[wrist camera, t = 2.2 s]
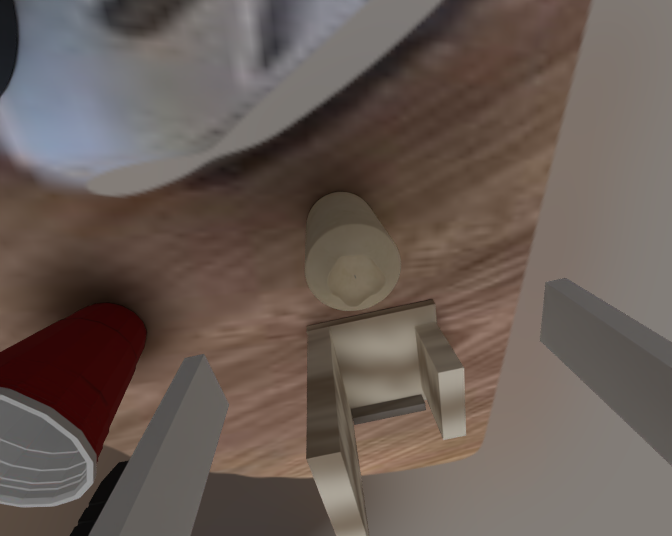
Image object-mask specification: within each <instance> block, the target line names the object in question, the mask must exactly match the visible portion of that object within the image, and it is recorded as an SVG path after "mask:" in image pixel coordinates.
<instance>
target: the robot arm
mask: <svg viewBox="0 0 672 536" xmlns="http://www.w3.org/2000/svg"><path fill="white" fill-rule="evenodd" d="M16 41H17V36H16V21H15V13H14V7H13V3H12V0H0V94H1V93H2V91H3V89H4V88H5V86H6V84H7V82H8V80H9V78H10V75H11V72H12V69H13V65H14V60H15V54H16ZM540 341H541V342H542V343H543V344H544V345H546V347H547V348H548V349H549V350H550V351H552V352H553V353H554V354H555V355H556V356H557V357H558V358H559V359H560V360H561V361H562V362H563V363H564V364H565V365H566V366H567V367H569V369H570V370H571V371H573V372H574V373H575V374H576V375H577V376H578V377H579V378H580V379H581V380H582V381H583V382H584V383H585V384H586V385H587V386H588V387H590V389H591V390H593V392H595V393H596V394H597V395H598V396H599V397H600V398H601V399H602V400H603V401H604V402H605V403H606V404H607V405H608V406H609V407H610V408H611V409H612V410H614V412H616V413H617V414H618V415H619V416H620V417H621V418H622V419H623V420H624V421H625V422H626V423H627V424H628V425H629V426H630V427H631V428H632V429H633V430H634V431H635V432H637V433H638V434H639V435H640V436H641V437H642V438H643V439H644V440H645V441H646V442H647V443H648V444H649V445H650V446H651V447H652V448H653V449H654V450H655V451H656V452H658V453H659V454H660V455H661V456H662V457H663V458H664V459H665V460H666V461H667V462H668V463H669V464H670V465H671V466H672V342H670V341H669V340H667V339H665V338H663V337H662V336H660V335H659V334H657V333H656V332H654V331H652V330H651V329H649V328H647V327H646V326H644V325H643V324H641V323H639V322H638V321H636V320H634V319H633V318H631V317H629V316H628V315H626V314H624V313H623V312H621V311H620V310H618V309H616V308H614V307H613V306H611V305H610V304H608V303H606V302H605V301H603V300H601V299H600V298H598V297H596V296H595V295H593V294H592V293H590V292H588V291H587V290H585V289H583V288H582V287H580V286H578V285H577V284H575V283H573V282H572V281H570V280H569V279H567V278H563V279H559V280H554V281H549V282H546V283H545V293H544V304H543V314H542V324H541V335H540ZM228 407H229V403H228V401H227V399H226V397H225V395H224V393H223V391H222V389H221V387H220V385H219V383H218V381H217V379H216V377H215V375H214V373H213V371H212V369H211V367H210V365H209V363H208V361H207V359H206V357H205V355H204V354H202V355H197V356H193V357H188V358H185V359H184V361H183V363H182V364H181V366H180V368H179V370H178V372H177V374H176V375H175V377H174V379H173V381H172V383H171V385H170V386H169V388H168V390H167V392H166V394H165V396H164V397H163V399H162V401H161V403H160V405H159V407H158V409H157V410H156V412H155V414H154V416H153V418H152V420H151V421H150V423H149V425H148V427H147V429H146V431H145V432H144V434H143V436H142V438H141V440H140V442H139V443H138V445H137V447H136V449H135V451H134V453H133V455H132V456H131V458H130V460H129V461H125V462H119V463H118V464H117V465H116V466H115V467H114V468H113V470H112V471H111V472H110V473H109V474H108V475H107V476H106V477H105V478H104V480H103V481H102V482H101V483H100V485H99V487H98V489H97V490H96V492H95V494H94V495H93V497H92V499H91V501H90V502H89V507H88V508H86V509H85V511H84V512H83V514H82V516H81V518H80V519H79V521H78V526H76V527H75V528H74V529H73V531H72V533H71V534H70V536H190V535H191V531H192V528H193V525H194V521H195V518H196V515H197V511H198V508H199V505H200V501H201V498H202V494H203V491H204V488H205V484H206V481H207V477H208V474H209V471H210V467H211V464H212V461H213V457H214V454H215V451H216V447H217V444H218V440H219V437H220V434H221V430H222V427H223V424H224V420H225V417H226V413H227V410H228Z"/></svg>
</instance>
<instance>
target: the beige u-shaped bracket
mask: <svg viewBox="0 0 672 536" xmlns="http://www.w3.org/2000/svg"><path fill="white" fill-rule="evenodd" d="M307 334H308V353H307V448H306V459H307V462H308V464H309V467H310V470H311V472H312V475H313V477H314V480H315V482H316V485H317V487H318V490H319V493H320V495H321V498H322V500H323V503H324V505H325V508H326V511H327V513H328V515H329V518H330V521H331V523H332V526H333V528H334V531H335V534H336V536H369V529H368V522H367V516H366V508H365V501H364V494H363V488H362V481H361V473H360V466H359V459H358V452H357V445H356V438H355V431H354V425H356V424H361V423H366V422H371V421H375V420H380V419H385V418H390V417H395V416H400V415H404V414H409V413H414V412H419V411H424V410H426V407H425V402H424V400H427V402H428V404H429V406H430V409H431V411H432V414H433V416H434V418H435V421H436V423H437V426H438V428H439V430H440V433H441V435H442V438H443V440H446V439H451V438H456V437H461V436H465V435H466V418H465V385H464V367H463V365H462V364H461V362H460V360H459V359H458V357H457V356H456V354H455V352H454V351H453V349H452V348H451V346H450V344H449V343H448V341H447V339H446V338H445V336H444V335H443V333H442V331H441V330H440V328H439V327H438V325H437V320H436V306H435V303H434V301H433V300H427V301H423V302H418V303H413V304H409V305H404V306H399V307H395V308H390V309H385V310H381V311H376V312H371V313H366V314H362V315H357V316H352V317H348V318H343V319H338V320H334V321H329V322H324V323H320V324H315V325H310V326H307ZM352 416H353V418H352ZM353 421H354V424H353Z"/></svg>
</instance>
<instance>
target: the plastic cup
mask: <svg viewBox="0 0 672 536" xmlns="http://www.w3.org/2000/svg"><path fill="white" fill-rule="evenodd" d="M146 333H147V331H146V329H145V326H144V324H143V321H142V320H141V319H140V318H139V317H138V316H137V315H136V314H135V313H134V312H132V311H130V310H129V309H127V308H125V307H123V306H121V305H116V304H112V303H98V304H93V305H91V306H87V307H85V308H83V309H81V310H79V311H77V312H75V313H74V314H72V315H70V316H68V317H67V318H65V319H62V320H60V321H58V322H56V323H54V324H52V325H50V326H48V327H46V328H44V329H42V330H40V331H39V332H37V333H35V334H33V335H31V336H29V337H27V338H26V339H24V340H22V341H20V342H18V343H16V344H14V345H13V346H11V347H9V348H7V349H5V350H3V351H2V352H0V503H1V504H6V505H12V506H18V507H46V506H47V507H48V506H57V505H60V504H63V503H66V502H69V501H72V500H75V499H78V498H80V497H81V496H82V495H83V494H84V493H85V491H86V490H87V489H88V488H89V487H90V486H91V485H92V484H93V482H94V480H95V477H96V464H97V462H98V457H99V455H100V452H101V450H102V448H103V443H104V441H105V439H106V437H107V435H108V433H109V427H110V425H111V423H112V421H113V418H114V416H115V414H116V412H117V410H118V407H119V405H120V403H121V401H122V398H123V396H124V394H125V392H126V390H127V387H128V385H129V383H130V381H131V378H132V376H133V374H134V372H135V369H136V364H137V362H138V360H139V358H140V355H141V353H142V351H143V349H144V346H145V341H146Z"/></svg>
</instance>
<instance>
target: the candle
mask: <svg viewBox="0 0 672 536" xmlns="http://www.w3.org/2000/svg"><path fill="white" fill-rule="evenodd" d="M400 271H401V258H400V254H399V251H398V249H397V246H396V245H395V243H394V241H393V240H392V238H391V237H390V236H389V234H388V233H387V231H386V230H385V228H384V227H383V225H382V224H381V222H380V221H379V220H378V218H377V217H376V215H375V214H374V212H373V211H372V209H371V208H370V207H369V205H368V204H367V203H366V202H365V201H364V200H363V199H362V198H360V197H359V196H357V195H354V194H352V193H348V192H334V193H330V194H328V195H326V196H324V197H322V198H321V199H319V200H318V201H317V202H316V203H315V204H314V205H313V207H312V208H311V210H310V212H309V214H308V217H307V223H306V246H305V278H306V281H307V284H308V286H309V288H310V290H311V292H312V293H313V294H314V296H315V297H316V298H317V299H318V300H320V301H321V302H322V303H324V304H325V305H327V306H329V307H332V308H334V309H338V310H344V311H357V310H362V309H366V308H369V307H371V306H373V305H375V304H377V303H379V302H380V301H382V300H383V299H384V298H385V297H387V296H388V295H389V293H390V292H391V291H392V290H393V288H394V287H395V285H396V283H397V281H398V278H399V275H400Z"/></svg>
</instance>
